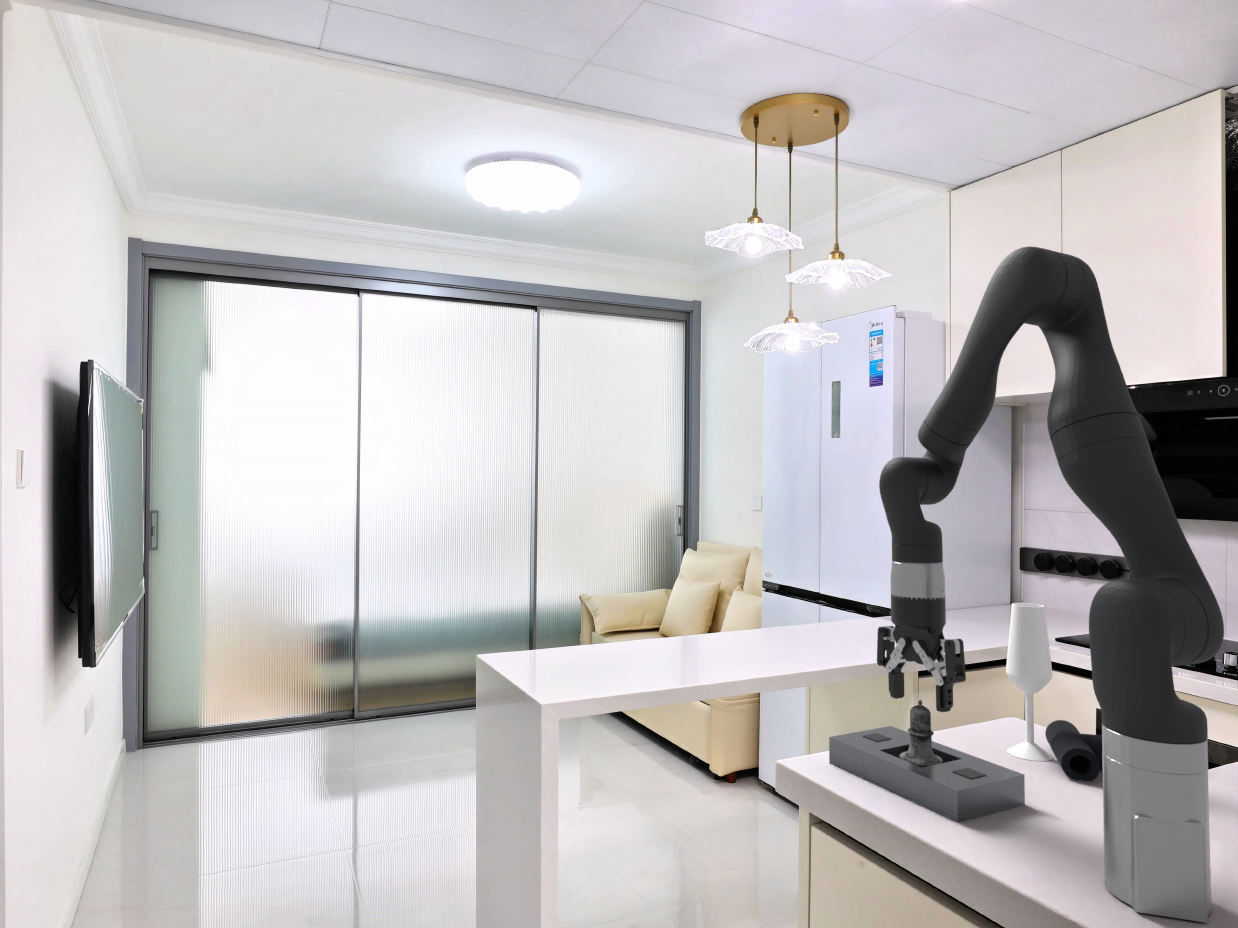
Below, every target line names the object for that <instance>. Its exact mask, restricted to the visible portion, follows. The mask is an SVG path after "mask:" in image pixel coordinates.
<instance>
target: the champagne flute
mask: <svg viewBox="0 0 1238 928" xmlns="http://www.w3.org/2000/svg"><path fill="white" fill-rule="evenodd" d="M1010 610H1011V611H1010V618H1009V619H1010V621H1009V622H1010V623H1009V630H1008V631H1009V632H1008V633H1009V634H1008V644H1007V655H1006V656H1007V657H1006V665H1005V672H1006V675H1007V677H1008V678H1009V680H1010V681H1011V682H1012V684H1013V685H1015V686H1016V687H1017V688H1018V689H1019V690H1020V691H1021V692H1022V693H1024V695H1025V696H1024V698H1025V699H1024V700H1025V706H1024V707H1025V741H1023V742H1020V743H1018V744H1016V745H1014V746H1012V747H1009V748H1007V750H1006V751H1007V753H1008V754H1009V753H1010V754H1009V755H1011V756H1013V757H1016V758H1018V759H1022V760H1026V761H1036V762H1047V761H1051V760H1053V759H1054V758H1055V757H1054V754H1051V753H1050V752H1049V751H1047V750H1046V749H1045V748H1043V747H1041V746H1040V745H1038V744H1037V743H1036V742H1035V730H1034V729H1035V727H1034V726H1035V725H1034V724H1035V723H1034V714H1035V713H1034V712H1035V711H1034V695H1035V694H1036V693H1038V692H1040V691H1041V690H1042V689H1044V688H1045V687H1046V686H1047V685H1048V684H1049V683H1050V682H1051V681H1052V678H1053V676H1054V675H1053V669H1052V668H1053V667H1052V658H1051V651H1050V650H1051V649H1050V643H1049V634H1048V632H1049V631H1048V626H1047V625H1048V624H1047V615H1046V608H1045V605H1043V604H1041V603H1040V604H1039V603H1030V602H1014V603H1013V602H1012V603H1011V609H1010Z"/></svg>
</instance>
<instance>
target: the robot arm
mask: <svg viewBox="0 0 1238 928" xmlns="http://www.w3.org/2000/svg"><path fill="white" fill-rule="evenodd" d="M981 298H982V299H981V301H980V303H979V306H978V309H977V311H976V313H975V316H974V318H973V320H972V322H971V325H970V327H969V330H968V333H967V334H966V338H965V340H964V343H963V346H962V348H961V350H960V353H959V355H958V358H957V360H956V363H955V364H954V367H953V369H952V371H951V373H950V375H949V378H948V379H947V381H946V383H945V385H944V387H943V388H942V390H941V392H940V393H939V395H938V396H937V398H936V399H935V402H934V404H933V405H932V406H931V408H930V410H929V411H928V413H927V415H926V417H925V418H924V420H923V421H922V423H921V425H920V427H919V429H918V432H917V439H918V442H919V443H920V444H921V446H922V447H923V448H924V449H926V451H925V453H924V455H923V456H922V457H913V456H912V457H910V456H908V457H907V456H898V457H894V458H891V459H890V460H888V461H887V462H886V463H885V465H884V466H883V468H882V470H881V472H880V474H879V475H880V476H879V483H878V485H879V487H878V488H879V494H880V498H881V502H882V506H883V509H884V513H885V517H886V520H887V524H888V526H889V529H890V533H891V568H890V569H891V570H890V620H891V623H892V624H893V625H895V626H893V625H885V626H878V628H877V647H876V663H877V665H878V666H879V667H884V669H885V670H886V672H887V674H888V677H887V678H888V692H889V695H890V698H892V699H896V700H897V699H902V698H904V697H905V672H902V671H903V670H904V669H905V667H906V665H908V663H909V662H910V663H911V662H915V663H916V664H919V665H922V666H924V667H925V669H926V670H927V671H928V672H930V673H931V675H932V677H933V679H934V681H935V682H936V684H935V708H936V711H937V712H940V713H947V712H950V711H951V710H952V709H953V706H954V685H955V684H958V683H964V682H966V680H967V675H966V660H965V648H964V647H965V646H964V641H963V640H962V638H945V635H944V632H943V631H944V627H945V626H946V623H947V617H946V616H947V615H946V612H947V611H946V610H947V609H946V606H947V605H946V603H947V602H946V577H945V576H946V575H945V570H944V563H943V562H944V559H943V558H944V557H943V556H944V555H943V554H944V553H943V552H944V551H943V532H942V528H941V527H940V525H939V524H937V523H935V522H932V521H929V520H927V519H926V518H925V516H924V514H923V510H922V506H923V505H924V506H928V505H935V504H938V503H941V502H942V501H944V500H945V498H947V497H948V496H949V495H950V494H951V492H952V491H953V490H954V488H955V486H956V483H957V481H958V478H959V474H960V471H961V469H962V466H963V463H964V459H965V455H966V452H967V449H968V448H969V447H970V446H971V444H972V443H973V442H974V440H975V438H976V436H977V435H978V434H979V432H980V431H981V429H982V428H983V426H984V424H985V423H986V421H987V419H988V418H989V416H990V414H991V411H992V409H993V407H994V404H995V399H996V394H997V387H998V386H997V384H998V374H999V370H1000V369H999V368H1000V365H1001V361H1002V358H1003V355H1004V354H1005V353H1004V352H1005V351H1006V348H1007V347H1008V345H1009V344H1010V342H1011V340H1012V339H1013V338H1014V337H1015V335H1016V334H1017V333H1018V331H1019V330H1020V329H1021V327H1022V326H1023V325H1024V324H1026V325H1030V326H1037V327H1038V328H1039V329H1040V330H1041V332H1042V334H1043V336H1044V338H1045V341H1046V343H1047V345H1048V348H1049V352H1050V354H1051V357H1052V360H1053V365H1054V373H1055V374H1054V383H1053V387H1052V390H1051V396H1050V400H1049V404H1048V410H1047V420H1046V422H1047V425H1046V426H1047V432H1048V436H1049V440H1050V442H1051V445H1052V448H1053V451H1054V454H1055V458H1056V461H1057V464H1058V467H1059V470H1060V472H1061V475H1062V477H1063V478H1064V481H1066V482H1065V483H1066V484H1067V485H1068V486H1069V488H1070V489H1071V491H1072V492H1073V493H1074V494H1075V496H1077V498H1078V499H1079V500H1080V501H1081V502H1082V503H1083V504H1084V505H1085V507H1086V508H1087V509H1088V510H1089V511H1090V512H1091V513H1092V514H1093V515H1094V516H1095V517H1096V518H1097V519H1098V520H1099V521H1100V523H1102V525H1103V526H1104V527H1105V528H1106V529H1107V530H1108V532H1110V534H1111V535H1112V537H1113V538H1114V539H1115V541H1116V543H1117V544H1118V546H1119V549H1120V550H1121V553H1122V554H1123V556H1124V559H1125V561H1126V564H1127V567H1128V570H1129V572H1130V575H1131V576H1130V577H1131V578H1126V579H1125V578H1123V579H1116V580H1112V581H1108V582H1106V583H1105V584H1103V585H1102V586H1101V587H1100V588H1099V589H1098V590H1097V591H1096V593H1095V594H1094V596H1093V598H1092V600H1091V605H1090V607H1089V612H1088V614H1089V615H1088V635H1089V636H1088V637H1089V639H1088V640H1089V650H1090V651H1089V652H1090V653H1089V654H1090V663H1091V677H1092V680H1091V681H1092V688H1093V691H1094V695H1095V697H1096V700H1097V702H1098V705H1099V708H1100V712H1101V735H1102V764H1103V769H1102V798H1103V799H1102V804H1103V805H1102V807H1103V808H1102V809H1103V811H1102V812H1103V813H1102V814H1103V847H1104V849H1103V850H1104V851H1103V853H1104V856H1103V857H1104V859H1103V860H1104V861H1103V862H1104V886H1105V887H1106V890H1108V892H1110V894H1111V895H1112V896H1114V897H1116V898H1117V899H1118V900H1120V901H1122V902H1123V903H1125V904H1128V905H1129V906H1131V908H1132V909H1133V910H1134V912H1137V913H1141V914H1149V915H1154V916H1160V917H1168V918H1172V919H1173V918H1174V919H1180V920H1185V921H1186V920H1187V921H1194V922H1199V923H1209V915H1210V913H1211V912H1212V874H1211V872H1212V871H1211V844H1210V843H1211V841H1210V840H1211V839H1210V836H1211V835H1210V806H1209V805H1210V802H1209V801H1210V800H1209V799H1210V795H1209V753H1208V752H1209V749H1208V748H1209V745H1208V738H1209V737H1208V735H1209V734H1208V733H1209V731H1208V718H1207V715H1206V713H1205V711H1204V710H1203V709H1202V708H1201V707H1200V706H1198V705H1196V704H1195V703H1191V702H1190V701H1188V700H1184V699H1181V698H1180V697H1179V696H1178V695H1177V693H1176V690H1175V683H1174V674H1173V673H1174V672H1173V667H1174V666H1176V667H1177V666H1178V667H1179V666H1187V665H1197V664H1201V663H1206V662H1208V661H1210V660H1211V659H1212V658H1214V657H1215V656H1216V655H1217V654H1218V653H1219V652H1220V650H1221V647H1222V645H1223V642H1224V636H1225V623H1224V619H1223V614H1222V610H1221V608H1220V605H1219V603H1218V600H1217V597H1216V596H1215V593H1214V591H1213V589H1212V587H1211V585H1210V583H1209V581H1208V579H1207V577H1206V575H1205V573H1204V572H1203V569H1202V567H1201V565H1200V563H1199V561H1198V560H1197V557H1196V555H1195V553H1194V552H1193V549H1192V547H1191V545H1190V544H1189V542H1188V540H1187V537H1186V535H1185V534H1184V531H1183V530H1182V527H1181V525H1180V522H1179V521H1178V518H1177V515H1176V513H1175V510H1174V508H1173V504H1172V502H1171V500H1170V498H1169V495H1168V493H1167V490H1166V488H1165V485H1164V483H1163V479H1162V477H1161V475H1160V473H1159V472H1160V471H1159V470H1158V467H1157V464H1156V462H1155V460H1154V456H1153V453H1152V448H1151V446H1150V442H1149V440H1148V437H1147V435H1146V432H1145V429H1144V426H1143V424H1142V421H1141V418H1140V416H1139V413H1138V410H1137V409H1136V406H1135V404H1134V402H1133V398H1132V397H1131V394H1130V392H1129V389H1128V385H1127V383H1126V380H1125V376H1124V374H1123V370H1122V368H1121V364H1120V363H1119V360H1118V358H1117V355H1116V353H1115V350H1114V346H1113V344H1112V339H1111V337H1110V336H1111V335H1110V332H1109V328H1108V322H1107V319H1106V315H1105V314H1106V313H1105V310H1104V305H1103V300H1102V296H1101V291H1100V288H1099V284H1098V281H1097V277H1096V275H1095V273H1094V271H1093V269H1092V268H1091V267H1090V265H1089V264H1088V263H1087V262H1085V261H1084V260H1083V259H1081V258H1080V257H1077V256H1074V255H1072V254H1068V253H1064V252H1060V251H1055V250H1051V249H1048V248H1045V247H1044V248H1042V247H1038V246H1024V247H1019V248H1017V249H1015V250H1013V251H1012V252H1010V253H1008V254H1007V256H1005V257H1004V258H1003V260H1001V261H1000V263H999V265H998V266H997V268H996V269H995V271H994V272H993V274H992V276H991V278H990V280H989V282H988V285H987V287H986V289H985V290H984V294H983V295H982V297H981ZM921 505H922V506H921ZM895 645H896V646H895ZM936 660H937V662H935V661H936Z"/></svg>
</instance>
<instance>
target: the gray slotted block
mask: <svg viewBox="0 0 1238 928" xmlns="http://www.w3.org/2000/svg"><path fill="white" fill-rule="evenodd" d="M828 740H829V741H828V743H829V745H828V748H829V749H828V754H829V755H828V756H829V758H828V759H829V764H831V765H833V766H836V767H837V768H840V769H842V770H844V771H846V772H847V773H850V774H852V775H854V776H857V777H859V778H861V779H863V780H864V781H865V780H866V781H868V782H870V783H872V784H874V785H876V786H879V787H880V788H883V789H886V790H887V791H889V792H891V793H893V794H895V795H898V796H900V797H902V798H904V799H906V800H909V801H911V802H913V803H915V804H917V805H920V806H922V807H924V808H926V809H928V810H930V811H933V812H934V813H937V814H939V815H941V816H943V817H946V818H947V819H950V820H952V821H953V822H956V823H961V822H963V821H967V820H972V819H975V818H979V817H982V816H986V815H990V814H993V813H998V812H1001V811H1005V810H1009V809H1012V808H1016V807H1021V806H1023V805H1025V804H1026V798H1025V796H1026V793H1025V792H1026V790H1025V787H1026V786H1025V784H1026V783H1025V774H1024V773H1022V772H1018V771H1015V770H1013V769H1010V768H1007V767H1005V766H1002V765H999V764H997V763H994V762H992V761H988V760H985V759H982V758H980V757H978V756H974V755H971V754H969V753H966V752H963V751H961V750H958V749H955V748H952V747H951V746H950V747H949V746H946V745H943V744H942V743H939V742H936V741H933V740H932V750H933V753H934V754H935V755H937V756H939V757H940V758H941V759H942V760H943V762H942V763H941V764H936V765H932V766H927V767H919V766H917V765H914V764H912V763H909V762H907V761H905V760H902V759H900V756H899V755H900V754H901V753H903V752H906V751H908V749H909V745H910V733H909V732H908V731H905V730H904V729H900V728H898V727H895V726H891V725H888V726H884V727H877V728H872V729H866V730H861V731H855V732H850V733H849V732H848V733H844V734H843V733H842V734H837V735H832V736H829V738H828Z"/></svg>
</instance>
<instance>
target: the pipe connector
mask: <svg viewBox="0 0 1238 928" xmlns="http://www.w3.org/2000/svg"><path fill="white" fill-rule="evenodd" d="M1044 734H1045V738H1046V741H1047V743H1048V745H1049V746H1050V748H1051V750H1052V753H1053V755H1054V756H1055V758H1056V761H1058V764H1059V765H1060V767H1061V769H1062V771H1063V773H1064V774H1065V775H1066V776H1067V777H1068V778H1069V779H1071V780H1073V779H1074V781H1079V780H1082V782H1088V781H1090V782H1093V781H1094V780H1096V779H1097V778H1098V777H1099V775H1100V772H1101V770H1103V764H1102V734H1091V733H1080V731H1079V730H1078V728H1077V727H1076V726H1075V725H1074V724H1073V723H1072V722H1070V721H1067V720H1064V719H1059V720H1058V719H1057V720H1054V721H1051V722H1050V723H1049V724H1048V725H1047V726H1046V729H1045V732H1044Z"/></svg>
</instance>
